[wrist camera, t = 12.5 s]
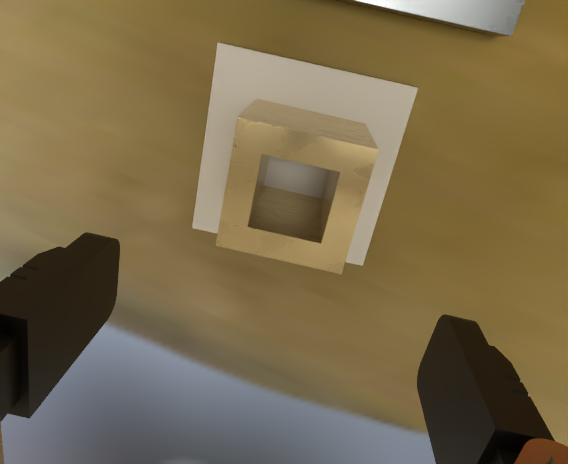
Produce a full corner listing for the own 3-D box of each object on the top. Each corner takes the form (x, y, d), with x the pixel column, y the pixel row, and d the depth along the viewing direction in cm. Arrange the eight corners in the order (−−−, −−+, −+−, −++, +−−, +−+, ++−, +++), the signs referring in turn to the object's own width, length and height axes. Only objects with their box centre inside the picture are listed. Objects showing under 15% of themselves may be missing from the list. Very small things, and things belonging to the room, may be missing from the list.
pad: (415, 86, 23) (418, 87, 22) (361, 259, 27) (362, 265, 26) (221, 42, 23) (217, 42, 22) (195, 222, 27) (192, 228, 26)
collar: (365, 123, 23) (378, 149, 18) (337, 223, 25) (341, 274, 20) (257, 98, 23) (237, 117, 18) (238, 200, 25) (215, 245, 20)
